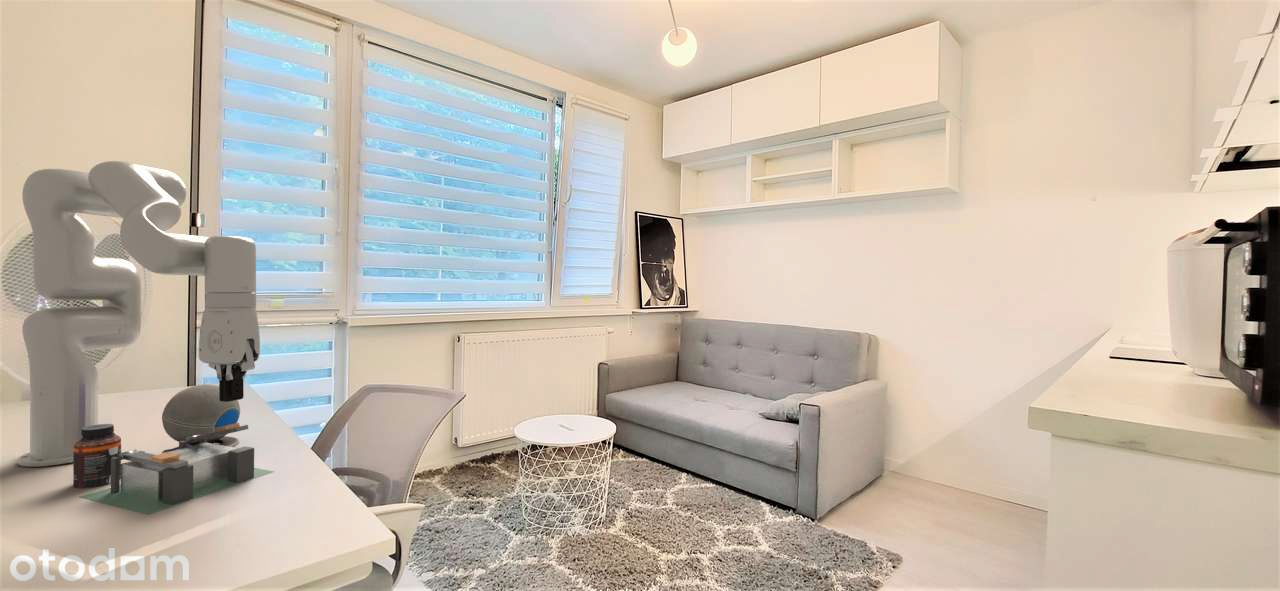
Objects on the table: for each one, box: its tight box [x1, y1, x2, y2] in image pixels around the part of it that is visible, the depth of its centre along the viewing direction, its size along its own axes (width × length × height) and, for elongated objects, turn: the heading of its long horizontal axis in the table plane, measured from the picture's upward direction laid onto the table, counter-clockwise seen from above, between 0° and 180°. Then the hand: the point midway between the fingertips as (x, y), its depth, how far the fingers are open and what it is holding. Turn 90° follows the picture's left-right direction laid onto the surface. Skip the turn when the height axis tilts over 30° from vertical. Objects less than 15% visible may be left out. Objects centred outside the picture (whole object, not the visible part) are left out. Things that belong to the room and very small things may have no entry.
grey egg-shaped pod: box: [161, 384, 241, 454], centre depth 112 cm, size 13×13×15 cm
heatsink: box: [120, 442, 239, 502], centre depth 92 cm, size 10×13×5 cm
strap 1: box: [118, 448, 188, 470], centre depth 87 cm, size 15×2×2 cm, turn 72°
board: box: [79, 438, 275, 515], centre depth 92 cm, size 18×20×7 cm
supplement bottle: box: [72, 423, 122, 489], centre depth 92 cm, size 6×6×11 cm
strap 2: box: [185, 422, 249, 444], centre depth 97 cm, size 15×2×2 cm, turn 72°
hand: (231, 399), depth 96 cm, fingers closed
